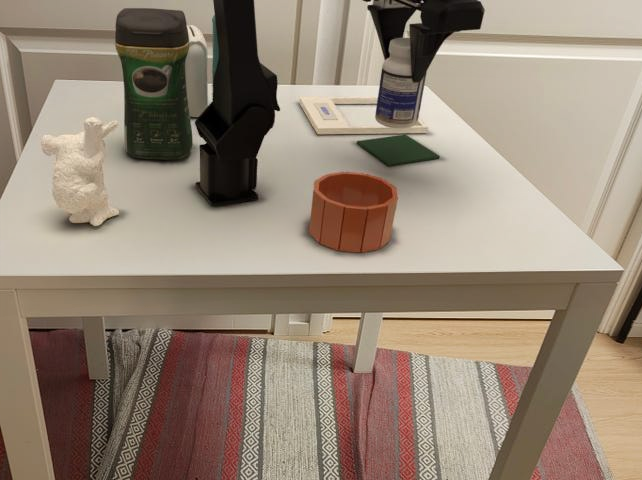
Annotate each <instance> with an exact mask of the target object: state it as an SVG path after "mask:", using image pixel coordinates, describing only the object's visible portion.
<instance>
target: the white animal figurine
mask: <svg viewBox="0 0 642 480" xmlns="http://www.w3.org/2000/svg"><path fill="white" fill-rule="evenodd" d="M83 126H84V127H83V128H84V130H83V131H81V132H79V133H77V134H66V133H64V134H60V135H58V136H54V135H51V134H44V135H43V136H42V137H41V140H40V146H41V150H42V153H43V154H44V155H45V156H47V157H51V156H54V155H55V162H54V166H53V169H52V172H53V173H52V183H51V185H52V187H51V193H52V197H53V200H54V201H55V204H56V206H57V207H58V208H59V209H60V210H61V211H62V212H64V213H67V214H70V216H69V217H68V220H69V222H70V223H72V224H81V223H82V224H84V223H89V224H90V225H91V226H93V227H97V226H100V225H102V224H103V223H104V222H105V221H106V220H107V219H109V218H113V217H115V216H119V215H120V211H119V209H118V208H116V207H113V206H110V205H109V203H108V197H109V194H108V192H107V187H106V185H105V175H104V170H103V163H104V161H105V159H106V157H107V145H106V141H105V140H104V138H106V137H107V136H109V134H111V133H112V132H114V131H115V130H116V128H117V127H118V126H119V124H118V121H117V120H112V121H110V122H109V123H107V124H105V125H104V123H103V121H102V120H100V119H99V118H97V117H94V116H93V117H87V118H86V119H84V120H83Z"/></svg>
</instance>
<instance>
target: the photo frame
mask: <svg viewBox="0 0 642 480" xmlns="http://www.w3.org/2000/svg"><path fill="white" fill-rule="evenodd" d="M377 100H378V96H312V97H311V96H306V97H305V96H303V97H301V96H300V97H299V101H298V104H299V105H300V107H301V109H302V110H303V112H304V113H305V115H306V117H307V119H308V121H309V122H310V124H311V126H312V127H313V129H314V131H315V133H316V135H353V134H354V135H358V134H359V135H366V134H367V135H368V134H369V135H370V134H373V135H374V134H375V135H376V134H379V135H380V134H381V135H382V134H427V133H428V130H429V129H428V128H429V127H428V125H427V124H426V123H425V122H424V121H423V120H422V119H421V118H420V117H419V118H418V121H417V123H416V124H415V125H414V126H412V127H409V128H391V127H387V126H384V125H375V126H374V125H369V126H368V125H365V126H363V125H362V126H359V125H357V126H354V125H353V126H351V125H350V124H349V122H348V121H347V119H346V118H345V117H344V116H343V114H342V112H341V111H340V110H339V108H338V107H337V106H336V105H363V104H365V105H369V104H370V105H372V104H374V105H375V104H376V105H377Z"/></svg>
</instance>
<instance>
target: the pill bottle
mask: <svg viewBox="0 0 642 480" xmlns="http://www.w3.org/2000/svg"><path fill="white" fill-rule="evenodd" d="M389 53H390V57H389V58H387V59H386V60H384V61H383V63H382V65H381V66H382V67H381V73H380V80H379V86H378V93H377V97H378V100H377V104H376V107H375V114H374V118H375V119H374V120H375V121H376V122H377V123H378V124H379V125H380V126H387V127H391V128H409V127H412V126H416V125H415V124H416V123H417V121H418V118H420V117H419V116H420V111H421V108H422V107H421V106H422V101H423V96H424V95H423V94H424V89H425V85H426V84H425V83H426V80H427V79H426V78H427V73H428V71H427V72H426V73H425V75H424V77H423V79H422V81H421V82H418V83H414V82H413V81H412V73H411V54H410V37H403V38H396V39H393V40H391V41H390V45H389Z"/></svg>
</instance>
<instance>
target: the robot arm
mask: <svg viewBox="0 0 642 480" xmlns="http://www.w3.org/2000/svg"><path fill="white" fill-rule="evenodd" d="M362 1H363V2H365V3H370V2H371V1H372V4H368V5H367V6H366V8H367V11H369V13H370V16H371V19H372V22H373V25H374V28H375V31H376V35H377V37H378V41H379V44H380V49H381V52H382V56H383V60H384V61H385V60H386V59H387V58H389V57H390V53H389V45H390V41H391V40H393V39H396V38H404V35H405V30H406V25H407V23H408V21H409V20H410V19H411V18H412V16H413V15H414V14H415V12H416V11H419V12H420V15H419V18H420V21H421V22H416V23H409V27H408V28H409V29H408V30H409V38H410V54H411V73H412V81H413V82H414V83H418V82H421V81H422V79H423V77H424V75H425V73H426V72H427V73H428V70H429V68H430V66H431V64H432V62H433V60H434V59H435V57H436V55H437V53H438V52H439V50H440V48H441V47H442V45H443V44H444V42H445V41H446V40H447V39H448V38H449V37H450V36H452V35H453V34H454V33H459V32H465V31H479V30H481V29H482V24H483V20H484V16H485V15H484V14H485V11H486V9H485V7H484V5H483V3H482V2H481V0H362ZM212 3H213V13H214V15H215V22H216V31H217V40H218V49H219V59H218V63H217V67H216V71H215V75H214V80H213V79H212V97H213V98H212V99H213V100H211V102H210V103H209V104H208V107H207V108H206V109H205V110H204V111H203V113H202V114H201V115H200V116H199V117H196V119H195V120H194V125H195V128H196V131H197V133H198V136H199V137H200V138H201V139H203V141H204V142H205V143H203V144H199V181H197V182H195V184H194V185H195V188H196V189H197V190H198V192H199V193H200V194H201V195H202V196H203V198H204V199H205V200H206V201H207V203H209V205H210V206H212V207H219V206H225V205H233V204H238V203H243V202H249V201H257V200H258V199H259V194H258V192H256V189H257V185H258V165H259V159H258V158H257V157H258V155H259V152H260V149H261V147H262V144H263V142H264V139H265V136H266V135H267V134H268V133H269V132H270V130H271V129H273V128H274V125H275V122H276V112H280V111H281V107H280V105H279V103H278V98H277V97H278V95H277V93H278V85H279V84H278V83H279V82H278V75H277V74H276V73H275V72H273V71H272V70H271V69H270V68H268V67H267V66H265V65H264V64H263V63H262V62H261V61H260V59H259V50H258V38H257V37H258V35H257V23H256V21H257V20H256V9H255V7H256V6H255V0H212ZM427 73H426V74H427Z"/></svg>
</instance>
